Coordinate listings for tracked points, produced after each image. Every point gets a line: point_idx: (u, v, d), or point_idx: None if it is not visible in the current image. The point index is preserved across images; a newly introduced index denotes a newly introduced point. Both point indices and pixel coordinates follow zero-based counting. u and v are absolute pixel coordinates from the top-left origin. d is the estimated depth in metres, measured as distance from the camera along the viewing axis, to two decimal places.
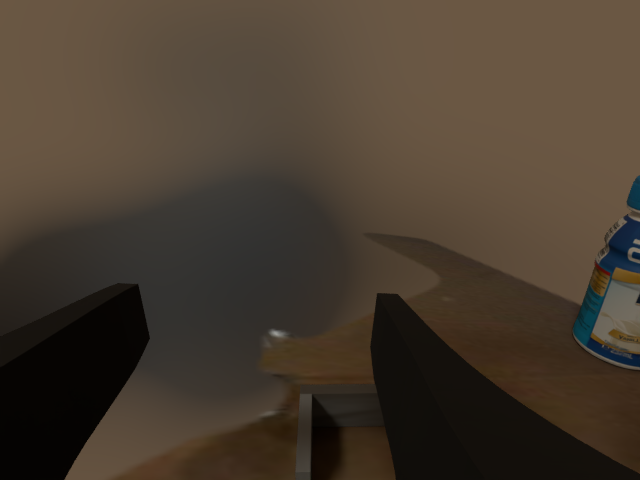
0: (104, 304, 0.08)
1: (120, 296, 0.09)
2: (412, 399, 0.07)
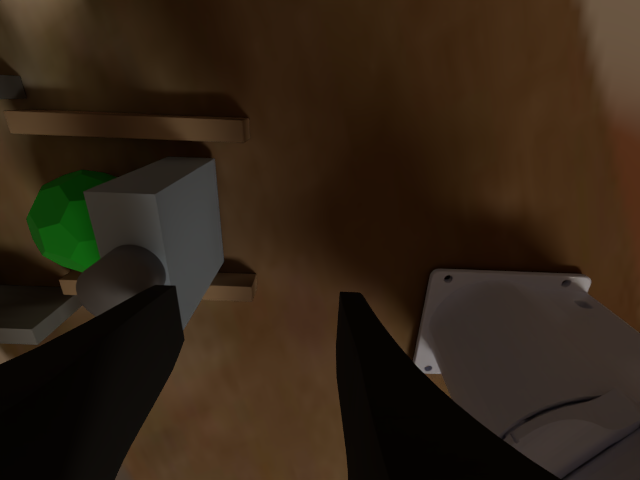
0: (148, 306, 0.08)
1: (161, 297, 0.09)
2: (357, 397, 0.07)
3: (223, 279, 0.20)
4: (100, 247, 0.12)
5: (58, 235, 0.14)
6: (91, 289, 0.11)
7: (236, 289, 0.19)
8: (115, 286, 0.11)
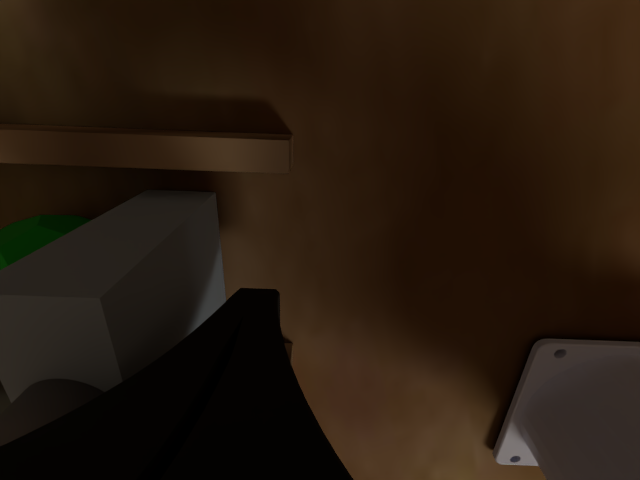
0: None
1: None
2: None
3: None
4: (6, 383, 0.06)
5: None
6: None
7: None
8: None
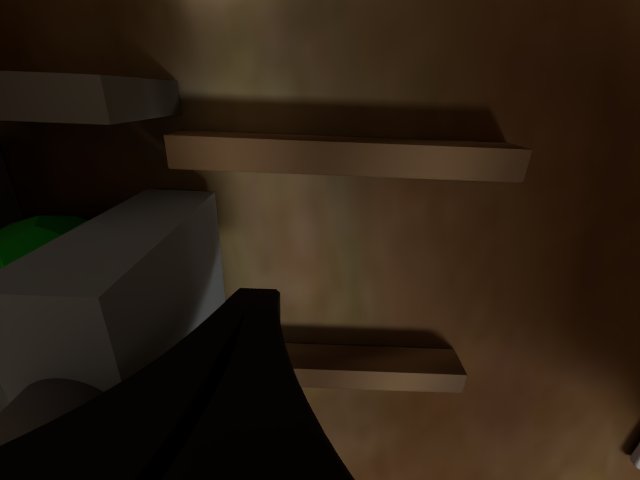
0: None
1: None
2: None
3: (418, 360, 0.14)
4: (4, 382, 0.06)
5: None
6: None
7: (444, 378, 0.14)
8: None
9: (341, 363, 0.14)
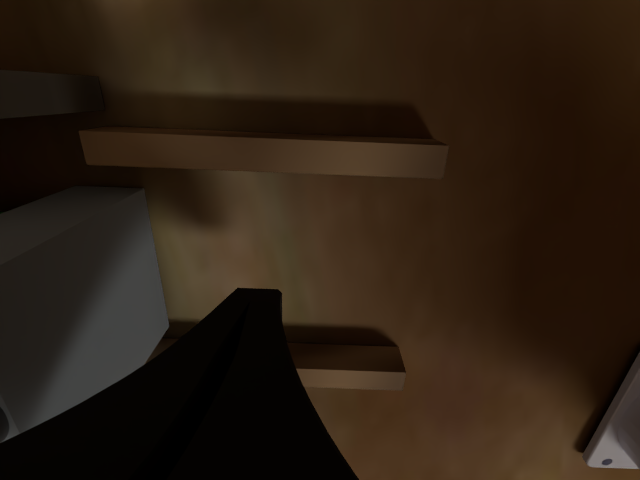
0: None
1: None
2: None
3: (360, 358, 0.14)
4: None
5: None
6: None
7: (384, 375, 0.14)
8: None
9: None
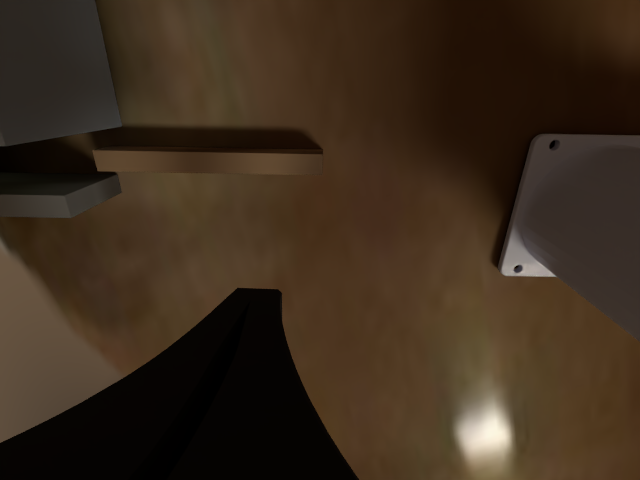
0: None
1: None
2: None
3: (286, 151, 0.16)
4: None
5: None
6: None
7: (304, 158, 0.16)
8: None
9: (218, 151, 0.16)
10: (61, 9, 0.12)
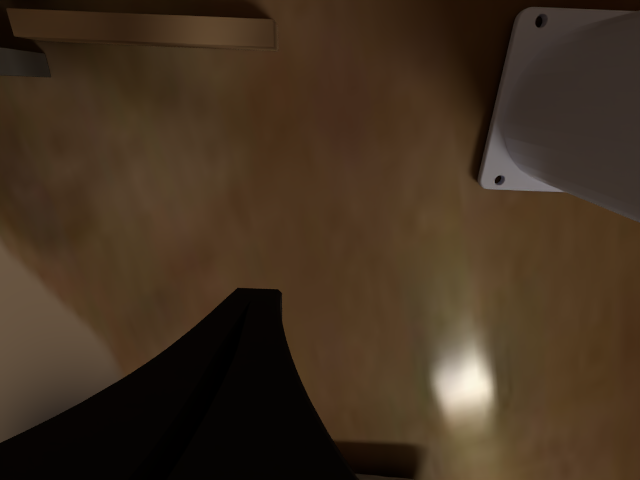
0: None
1: None
2: None
3: None
4: None
5: None
6: None
7: (252, 24, 0.14)
8: None
9: None
10: None
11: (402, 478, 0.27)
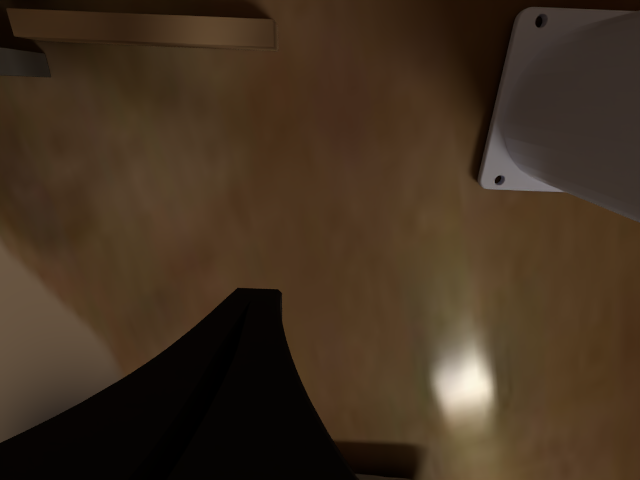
0: None
1: None
2: None
3: None
4: None
5: None
6: None
7: (252, 24, 0.14)
8: None
9: None
10: None
11: (402, 478, 0.27)
